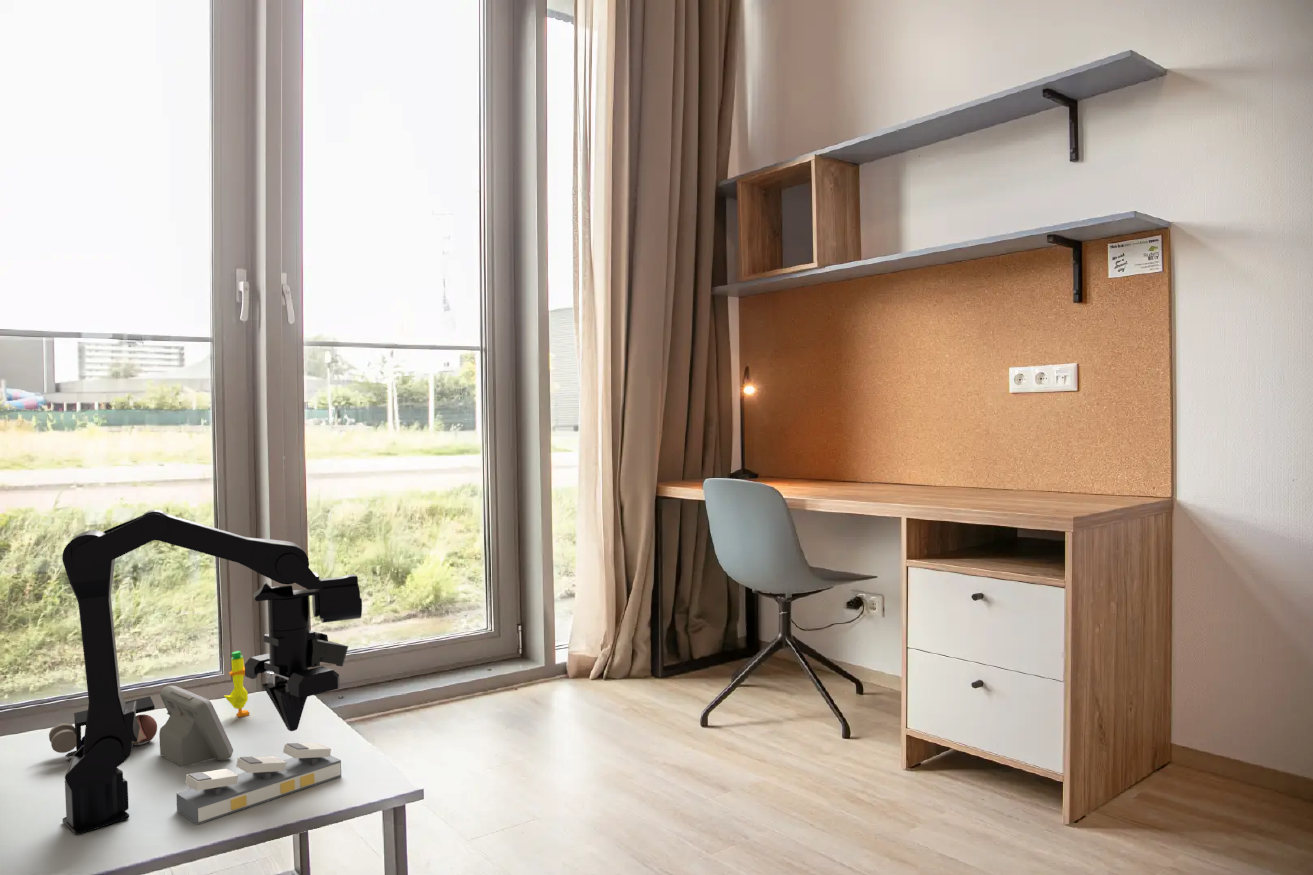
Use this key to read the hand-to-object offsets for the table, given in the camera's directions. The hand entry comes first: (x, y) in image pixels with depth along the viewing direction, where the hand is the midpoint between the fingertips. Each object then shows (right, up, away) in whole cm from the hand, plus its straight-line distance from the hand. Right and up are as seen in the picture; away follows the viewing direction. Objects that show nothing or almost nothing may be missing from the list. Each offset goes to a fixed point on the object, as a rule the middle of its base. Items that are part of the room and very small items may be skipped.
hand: (292, 730), depth 136 cm
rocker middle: (-3, -4, -4) cm, 6 cm away
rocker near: (-8, -4, -9) cm, 12 cm away
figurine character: (-38, -9, +16) cm, 42 cm away
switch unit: (-3, -8, -3) cm, 9 cm away
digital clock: (-21, -9, +13) cm, 27 cm away
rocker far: (+2, -4, +2) cm, 4 cm away
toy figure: (-22, -8, +33) cm, 41 cm away
